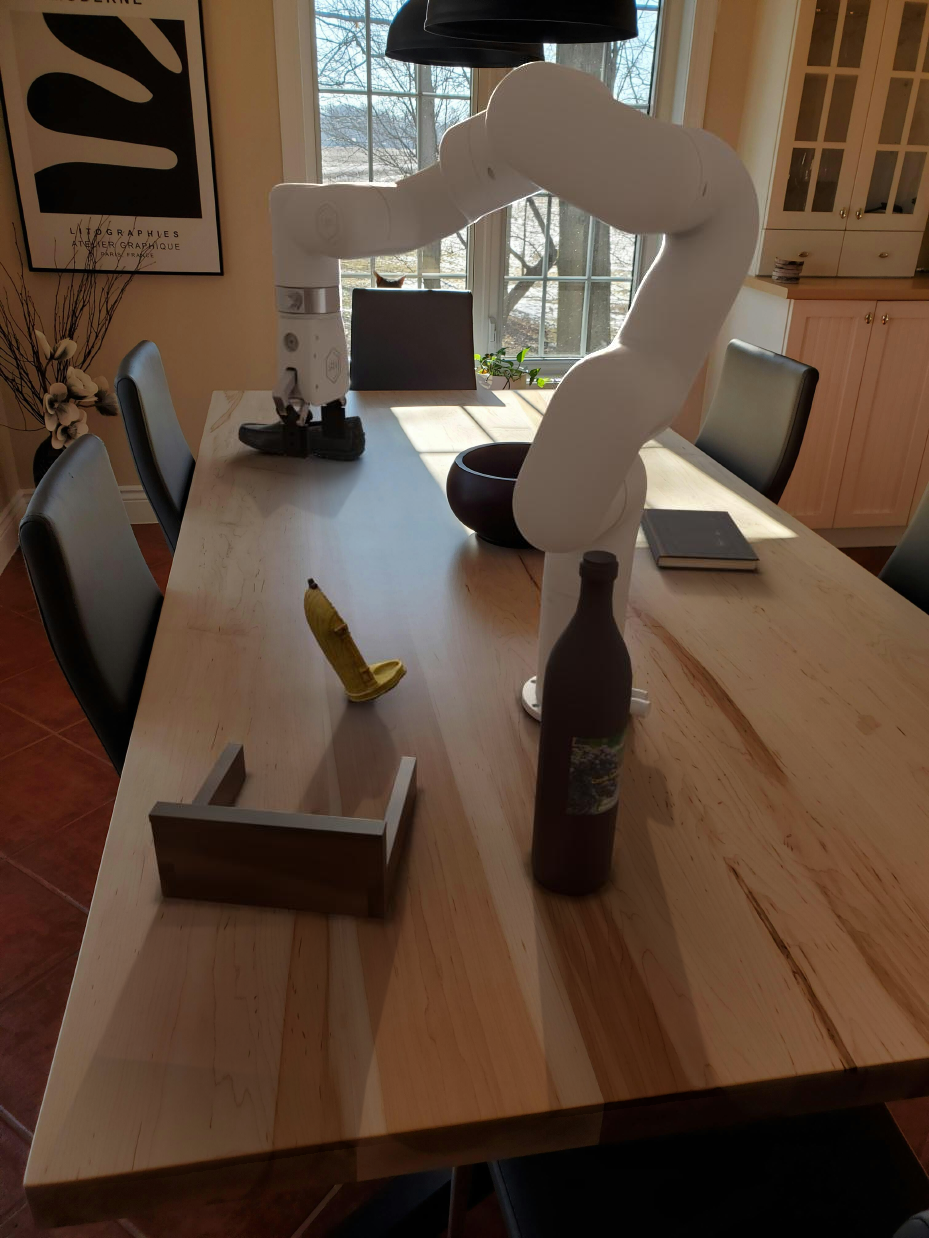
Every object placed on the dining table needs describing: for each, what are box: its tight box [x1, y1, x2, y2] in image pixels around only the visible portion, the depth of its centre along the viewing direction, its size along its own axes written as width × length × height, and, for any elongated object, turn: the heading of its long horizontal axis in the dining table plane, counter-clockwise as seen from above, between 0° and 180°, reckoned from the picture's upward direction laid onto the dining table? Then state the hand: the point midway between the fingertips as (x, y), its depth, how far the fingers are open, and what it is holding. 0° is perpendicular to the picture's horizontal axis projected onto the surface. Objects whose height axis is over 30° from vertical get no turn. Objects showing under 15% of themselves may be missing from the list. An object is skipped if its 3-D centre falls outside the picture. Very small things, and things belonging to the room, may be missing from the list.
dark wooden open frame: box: [147, 742, 418, 919], centre depth 81 cm, size 18×19×9 cm
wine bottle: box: [530, 550, 634, 896], centre depth 73 cm, size 7×7×30 cm
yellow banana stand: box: [303, 577, 408, 704], centre depth 103 cm, size 12×8×15 cm
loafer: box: [237, 408, 366, 462], centre depth 197 cm, size 10×29×10 cm, turn 82°
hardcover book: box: [640, 507, 761, 573], centre depth 153 cm, size 16×23×2 cm
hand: (316, 447), depth 111 cm, fingers open, 9 cm apart
